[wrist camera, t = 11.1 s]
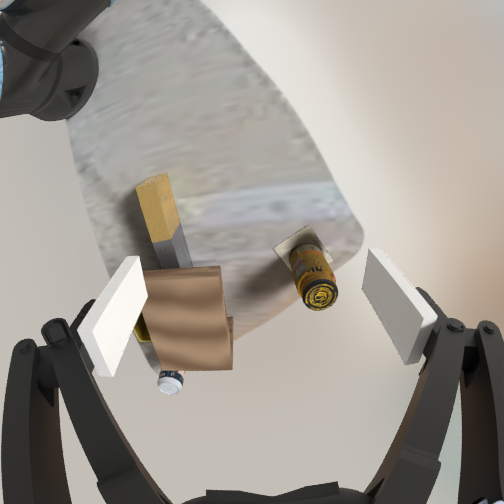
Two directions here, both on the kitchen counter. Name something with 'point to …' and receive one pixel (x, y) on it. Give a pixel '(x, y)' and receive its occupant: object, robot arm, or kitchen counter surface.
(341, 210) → the kitchen counter surface
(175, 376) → the beer can
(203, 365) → the small brown wooden table
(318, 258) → the condiment
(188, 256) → the two-tone wooden bar
